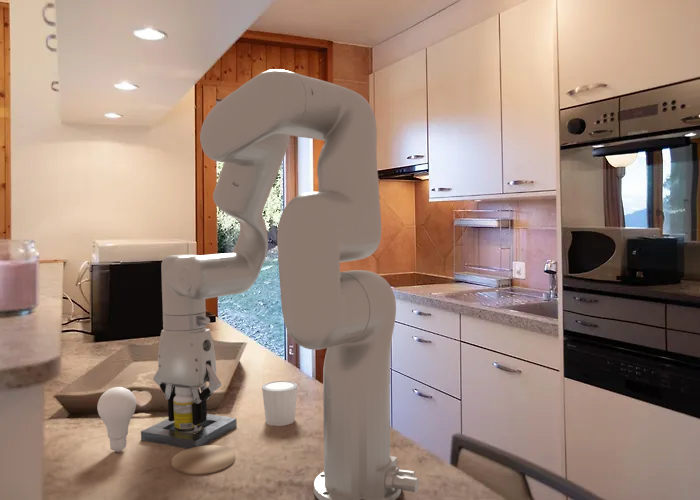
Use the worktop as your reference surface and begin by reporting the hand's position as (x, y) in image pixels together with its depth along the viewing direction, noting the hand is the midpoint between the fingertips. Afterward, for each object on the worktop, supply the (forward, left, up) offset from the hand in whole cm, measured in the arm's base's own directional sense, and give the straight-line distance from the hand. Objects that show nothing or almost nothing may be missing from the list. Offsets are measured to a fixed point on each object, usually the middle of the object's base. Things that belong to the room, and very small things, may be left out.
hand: (187, 419), depth 105 cm
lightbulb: (+5, +11, -3) cm, 13 cm away
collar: (0, 0, -2) cm, 3 cm away
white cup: (-12, -12, -3) cm, 18 cm away
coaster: (-10, +9, -2) cm, 14 cm away
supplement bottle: (0, 0, -2) cm, 2 cm away
